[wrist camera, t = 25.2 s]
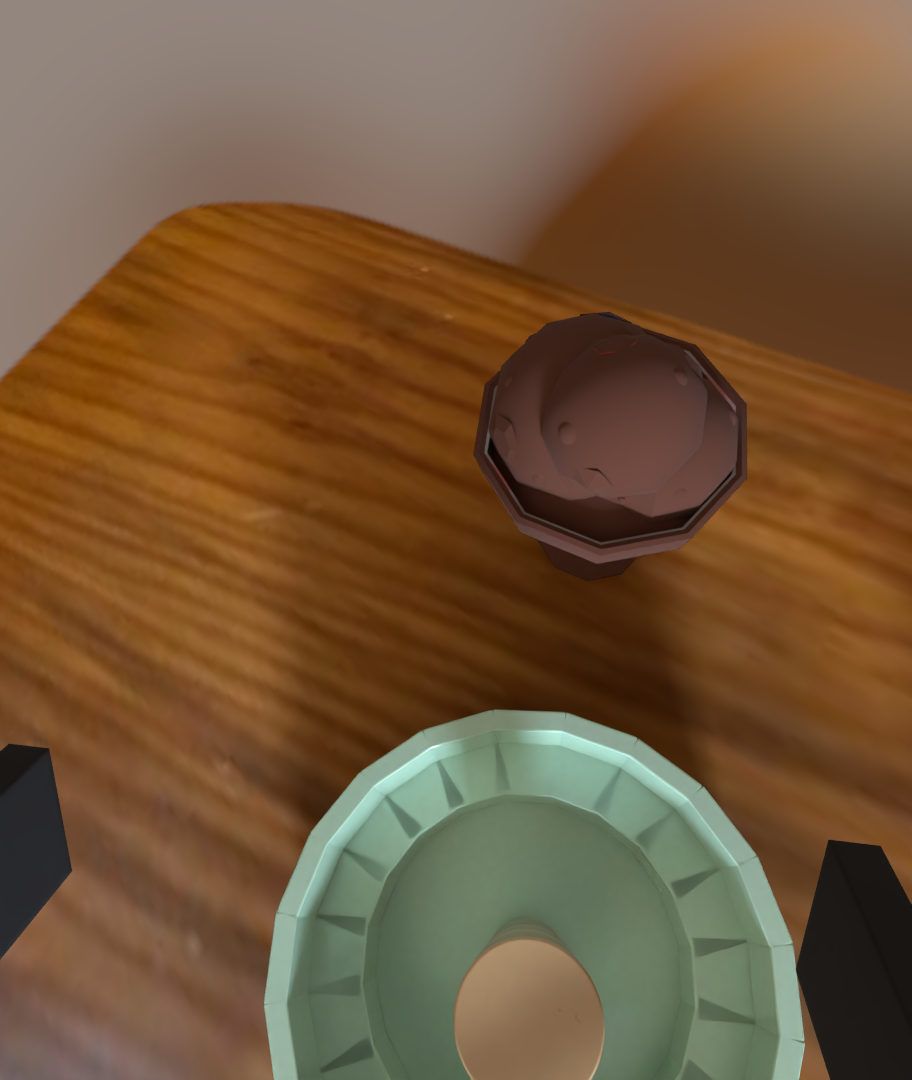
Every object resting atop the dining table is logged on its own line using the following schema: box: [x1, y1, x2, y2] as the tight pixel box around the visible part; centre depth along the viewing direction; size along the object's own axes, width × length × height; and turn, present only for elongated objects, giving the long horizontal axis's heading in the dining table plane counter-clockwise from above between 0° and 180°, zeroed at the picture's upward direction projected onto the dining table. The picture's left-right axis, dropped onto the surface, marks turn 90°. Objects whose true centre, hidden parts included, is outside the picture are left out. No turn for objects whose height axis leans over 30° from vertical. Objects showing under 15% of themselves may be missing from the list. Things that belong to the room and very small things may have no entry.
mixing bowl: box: [264, 709, 805, 1080], centre depth 28 cm, size 18×18×6 cm
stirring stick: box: [453, 918, 605, 1080], centre depth 23 cm, size 3×3×16 cm
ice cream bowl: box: [474, 312, 747, 580], centre depth 32 cm, size 11×11×15 cm
